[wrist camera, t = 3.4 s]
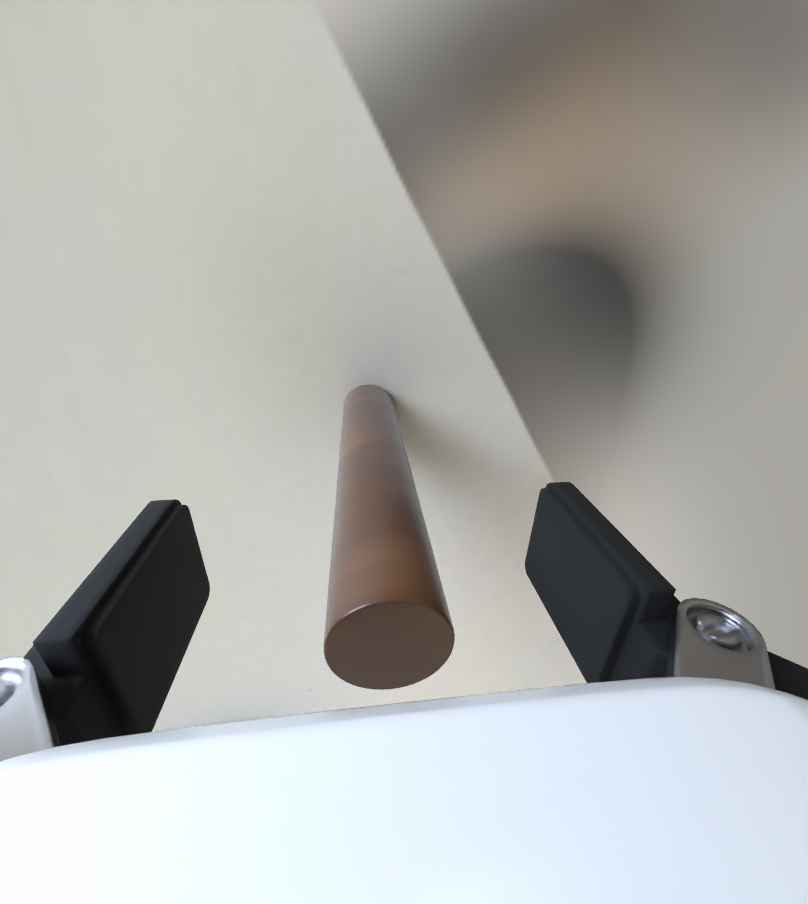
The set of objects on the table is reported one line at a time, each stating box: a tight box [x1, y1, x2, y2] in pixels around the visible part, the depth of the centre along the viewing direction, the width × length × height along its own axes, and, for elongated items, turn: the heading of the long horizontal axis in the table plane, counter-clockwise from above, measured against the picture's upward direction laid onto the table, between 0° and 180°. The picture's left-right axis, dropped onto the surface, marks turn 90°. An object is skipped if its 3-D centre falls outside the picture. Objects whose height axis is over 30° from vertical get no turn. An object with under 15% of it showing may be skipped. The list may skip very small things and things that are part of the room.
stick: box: [324, 385, 455, 689], centre depth 14 cm, size 3×3×14 cm
